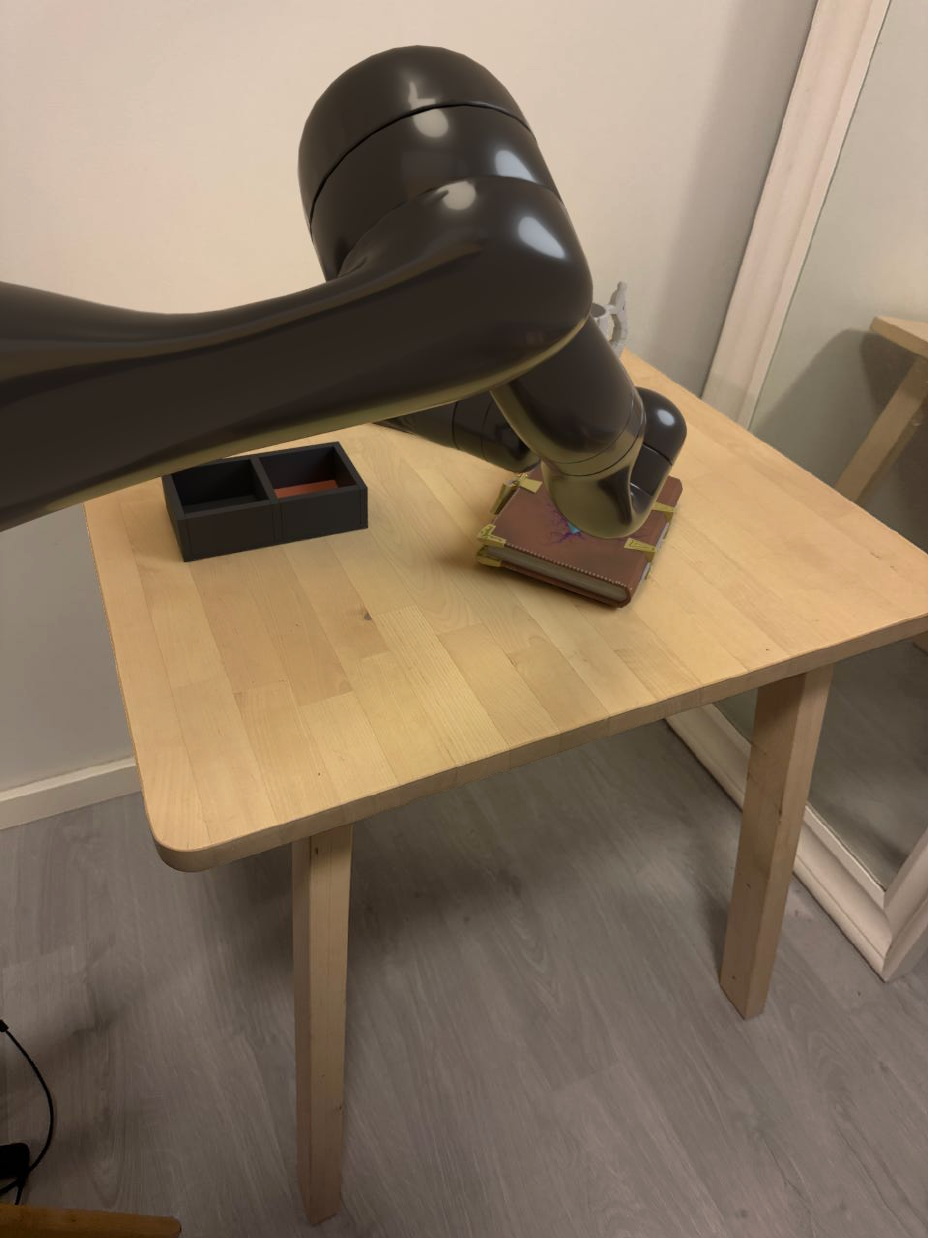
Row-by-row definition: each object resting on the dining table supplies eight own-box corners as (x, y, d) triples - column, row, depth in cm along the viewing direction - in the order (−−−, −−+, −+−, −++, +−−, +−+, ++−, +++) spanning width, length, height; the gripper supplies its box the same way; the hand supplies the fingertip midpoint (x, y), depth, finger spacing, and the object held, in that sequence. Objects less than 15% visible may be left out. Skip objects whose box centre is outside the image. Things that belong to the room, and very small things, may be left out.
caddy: (183, 562, 80) (176, 520, 77) (166, 508, 86) (159, 467, 83) (368, 527, 86) (368, 487, 83) (339, 479, 92) (338, 440, 89)
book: (688, 490, 96) (701, 449, 93) (626, 624, 79) (640, 580, 75) (545, 444, 100) (554, 403, 97) (456, 563, 82) (462, 518, 79)
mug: (527, 381, 112) (538, 284, 104) (597, 361, 118) (613, 268, 110) (567, 406, 108) (582, 307, 100) (638, 385, 113) (657, 290, 106)
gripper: (488, 317, 72) (328, 262, 79) (373, 371, 63) (206, 304, 71) (482, 403, 77) (332, 344, 84) (374, 465, 68) (217, 393, 75)
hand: (275, 326), depth 77 cm, fingers closed
